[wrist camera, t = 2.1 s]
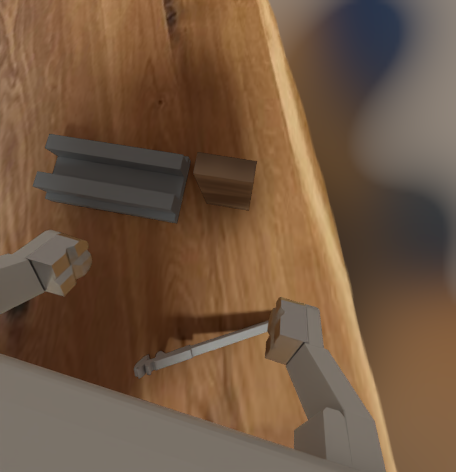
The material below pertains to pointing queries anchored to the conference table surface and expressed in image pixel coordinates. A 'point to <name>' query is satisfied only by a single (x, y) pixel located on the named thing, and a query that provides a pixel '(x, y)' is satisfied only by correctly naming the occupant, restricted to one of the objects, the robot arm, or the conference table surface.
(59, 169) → the picture ledge
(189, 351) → the caliper
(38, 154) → the conference table surface
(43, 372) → the robot arm
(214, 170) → the wooden picture frame
